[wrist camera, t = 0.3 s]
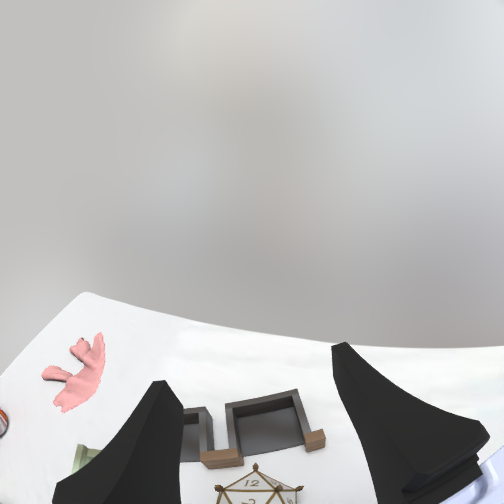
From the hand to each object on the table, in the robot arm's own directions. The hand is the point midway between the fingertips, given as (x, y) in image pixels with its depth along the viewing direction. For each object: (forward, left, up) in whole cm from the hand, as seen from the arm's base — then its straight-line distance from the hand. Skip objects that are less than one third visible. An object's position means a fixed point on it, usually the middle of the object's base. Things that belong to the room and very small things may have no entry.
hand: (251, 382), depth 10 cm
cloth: (+24, +35, -22) cm, 48 cm away
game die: (-3, +3, -21) cm, 21 cm away
